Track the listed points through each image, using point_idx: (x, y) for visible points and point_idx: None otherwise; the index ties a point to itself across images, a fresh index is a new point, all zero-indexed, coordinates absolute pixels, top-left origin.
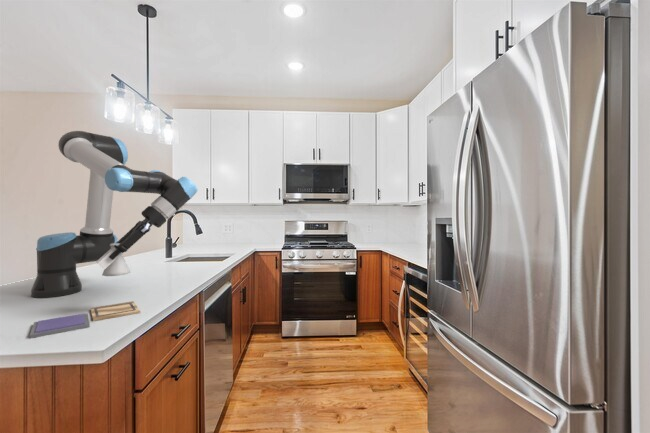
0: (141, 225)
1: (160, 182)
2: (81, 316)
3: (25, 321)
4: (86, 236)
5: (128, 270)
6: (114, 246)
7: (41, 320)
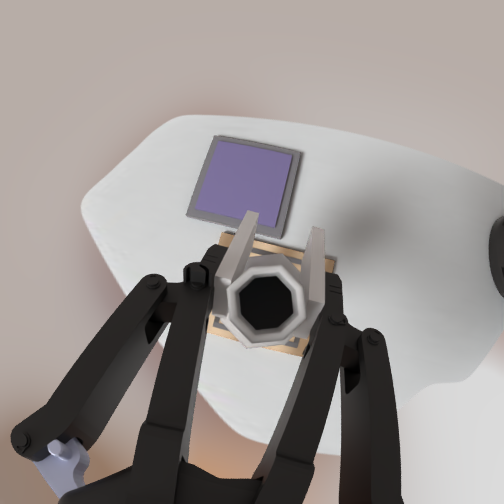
0: (94, 492)
1: None
2: None
3: (341, 153)
4: None
5: (239, 339)
6: (191, 264)
7: (290, 159)
